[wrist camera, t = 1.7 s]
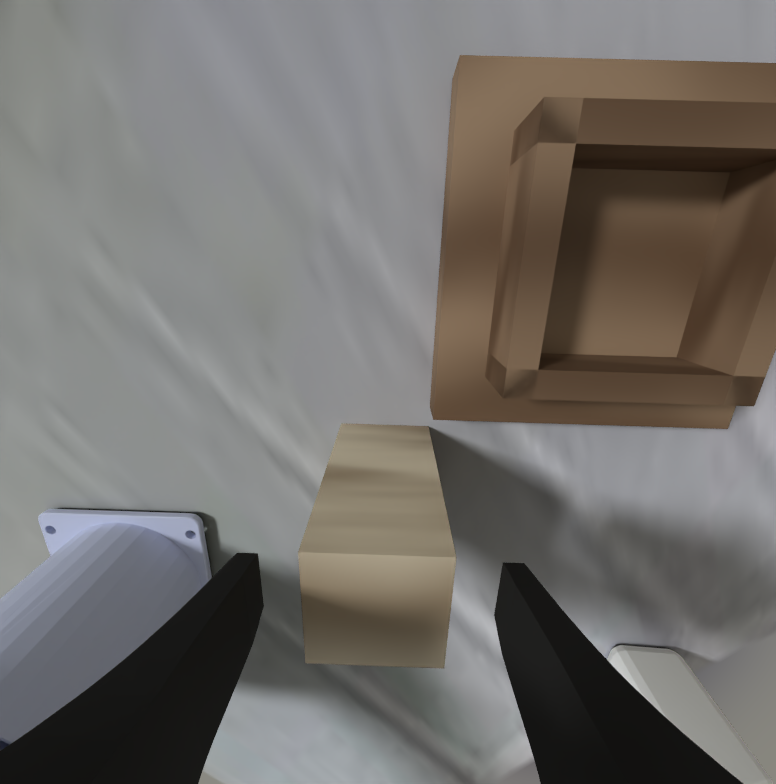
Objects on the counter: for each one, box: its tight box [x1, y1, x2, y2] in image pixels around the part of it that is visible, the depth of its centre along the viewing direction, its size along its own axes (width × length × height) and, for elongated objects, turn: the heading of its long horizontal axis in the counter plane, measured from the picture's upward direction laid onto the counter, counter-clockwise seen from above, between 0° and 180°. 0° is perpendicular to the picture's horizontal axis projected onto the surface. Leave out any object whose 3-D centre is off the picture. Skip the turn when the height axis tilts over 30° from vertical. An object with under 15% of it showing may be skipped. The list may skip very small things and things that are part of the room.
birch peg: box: [298, 424, 456, 668], centre depth 14 cm, size 4×4×8 cm
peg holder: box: [430, 55, 776, 429], centre depth 13 cm, size 12×12×4 cm
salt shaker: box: [607, 645, 774, 784], centre depth 17 cm, size 4×4×10 cm
